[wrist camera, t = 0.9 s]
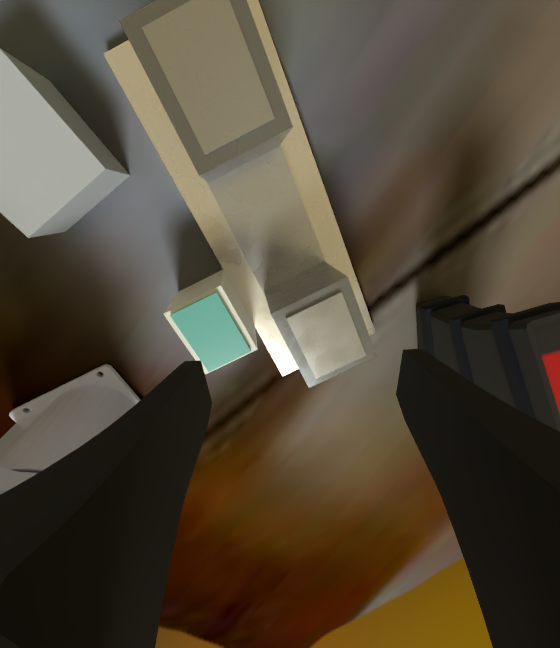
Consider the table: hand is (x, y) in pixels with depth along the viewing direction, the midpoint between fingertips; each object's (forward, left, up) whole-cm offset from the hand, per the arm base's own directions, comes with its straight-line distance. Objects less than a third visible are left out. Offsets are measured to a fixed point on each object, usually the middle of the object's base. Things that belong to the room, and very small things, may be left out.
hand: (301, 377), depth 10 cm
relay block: (-8, +13, -14) cm, 21 cm away
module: (-4, 0, -14) cm, 14 cm away
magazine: (+12, -12, -14) cm, 22 cm away
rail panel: (+2, +4, -14) cm, 14 cm away
